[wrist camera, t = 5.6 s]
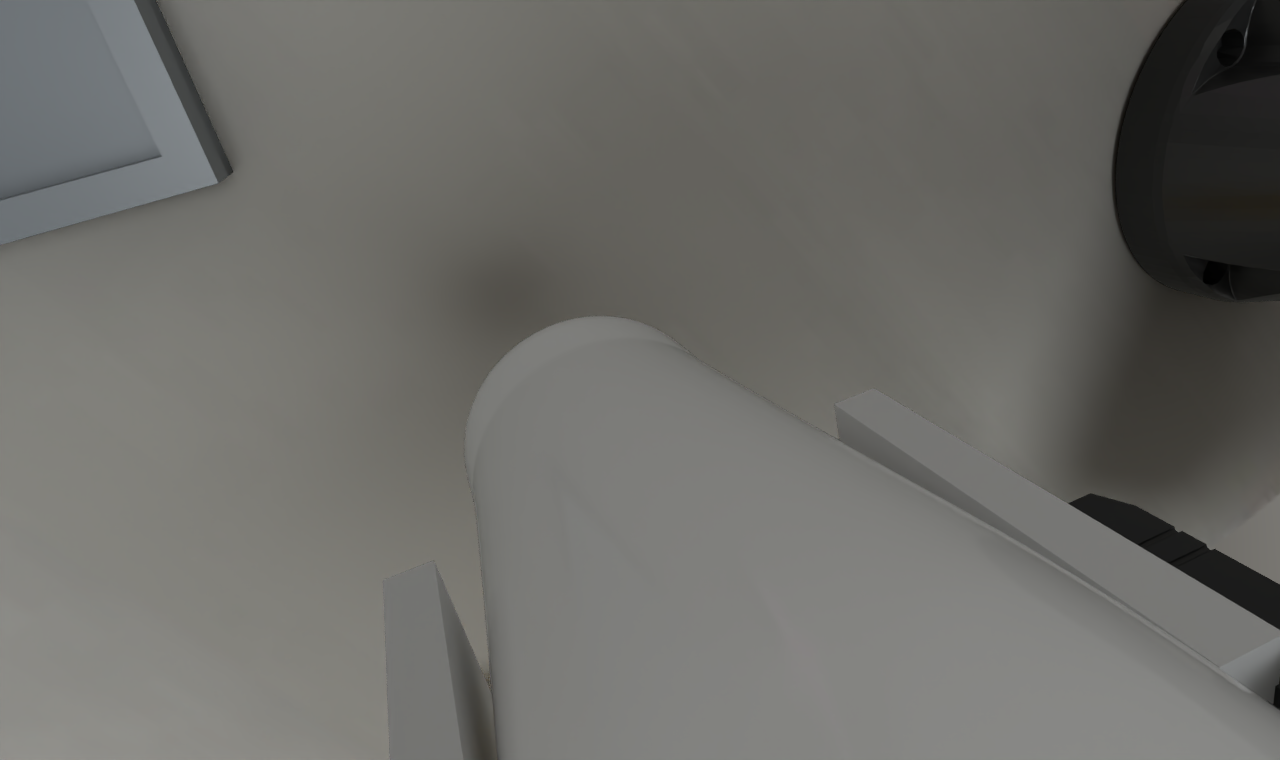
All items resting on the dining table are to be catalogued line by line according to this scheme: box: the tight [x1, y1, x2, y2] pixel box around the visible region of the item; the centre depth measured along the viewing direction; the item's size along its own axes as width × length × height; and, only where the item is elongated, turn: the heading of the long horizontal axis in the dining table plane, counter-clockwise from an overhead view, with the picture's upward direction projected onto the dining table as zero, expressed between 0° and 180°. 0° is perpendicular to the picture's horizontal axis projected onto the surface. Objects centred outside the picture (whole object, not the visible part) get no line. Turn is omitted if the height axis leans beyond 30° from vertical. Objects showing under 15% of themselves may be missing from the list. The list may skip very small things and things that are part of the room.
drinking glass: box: [464, 316, 1280, 760], centre depth 11 cm, size 7×7×15 cm
